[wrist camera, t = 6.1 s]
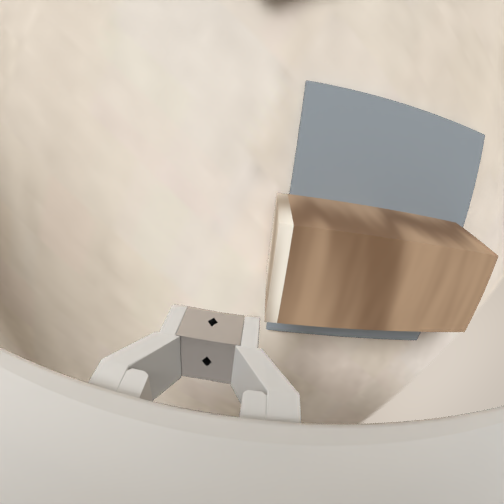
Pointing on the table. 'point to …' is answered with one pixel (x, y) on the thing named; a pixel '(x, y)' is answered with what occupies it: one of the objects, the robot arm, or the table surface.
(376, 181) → the rubber mat
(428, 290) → the walnut block
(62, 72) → the table surface
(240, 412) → the robot arm
